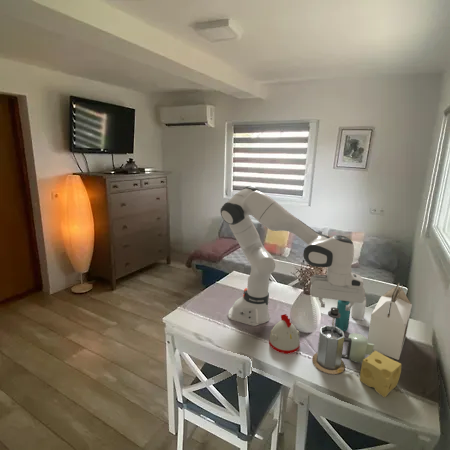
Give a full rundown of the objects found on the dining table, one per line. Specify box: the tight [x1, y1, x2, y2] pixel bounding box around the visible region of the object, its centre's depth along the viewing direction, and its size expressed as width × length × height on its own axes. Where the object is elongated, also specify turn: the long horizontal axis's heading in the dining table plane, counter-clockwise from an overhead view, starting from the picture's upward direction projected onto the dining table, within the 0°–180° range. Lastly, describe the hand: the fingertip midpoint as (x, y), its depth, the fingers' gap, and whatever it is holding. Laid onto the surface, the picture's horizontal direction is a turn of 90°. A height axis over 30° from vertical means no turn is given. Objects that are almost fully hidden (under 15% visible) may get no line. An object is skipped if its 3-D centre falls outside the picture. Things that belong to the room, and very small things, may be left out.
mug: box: [345, 332, 374, 363], centre depth 127 cm, size 10×8×9 cm
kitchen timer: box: [268, 313, 301, 355], centre depth 134 cm, size 14×14×15 cm
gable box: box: [367, 282, 413, 361], centre depth 135 cm, size 22×13×28 cm, turn 142°
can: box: [350, 297, 367, 321], centre depth 157 cm, size 6×6×12 cm
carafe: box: [311, 324, 352, 376], centre depth 121 cm, size 14×13×15 cm
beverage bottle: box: [334, 300, 351, 332], centre depth 144 cm, size 6×7×20 cm
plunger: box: [323, 307, 341, 339], centre depth 119 cm, size 7×7×13 cm
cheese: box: [359, 350, 402, 398], centre depth 112 cm, size 10×11×10 cm
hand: (334, 308), depth 117 cm, fingers open, 8 cm apart
